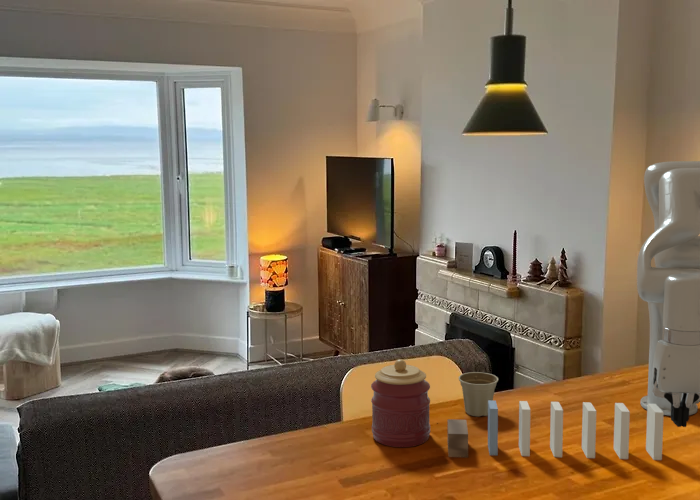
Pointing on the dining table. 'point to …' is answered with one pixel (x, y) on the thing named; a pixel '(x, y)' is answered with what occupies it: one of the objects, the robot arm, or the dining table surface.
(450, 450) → the end block
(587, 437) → the tile
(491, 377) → the flower pot
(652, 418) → the tile
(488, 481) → the dining table surface
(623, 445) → the tile
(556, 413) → the tile
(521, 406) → the tile
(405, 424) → the canister
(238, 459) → the dining table surface
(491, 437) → the tile
